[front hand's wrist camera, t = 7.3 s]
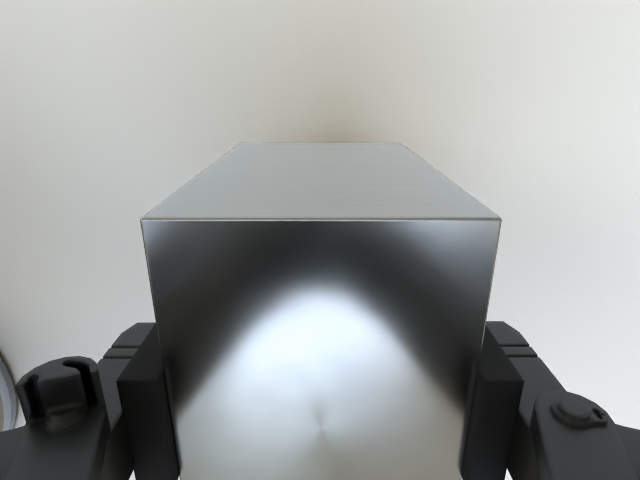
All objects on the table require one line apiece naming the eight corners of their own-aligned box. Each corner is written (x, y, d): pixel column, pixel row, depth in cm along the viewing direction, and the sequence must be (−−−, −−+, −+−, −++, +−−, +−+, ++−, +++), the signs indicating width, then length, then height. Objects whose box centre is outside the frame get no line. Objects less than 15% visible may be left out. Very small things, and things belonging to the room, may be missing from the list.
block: (252, 343, 19) (193, 573, 10) (239, 142, 16) (138, 217, 7) (388, 343, 19) (448, 573, 10) (401, 142, 16) (503, 217, 7)
